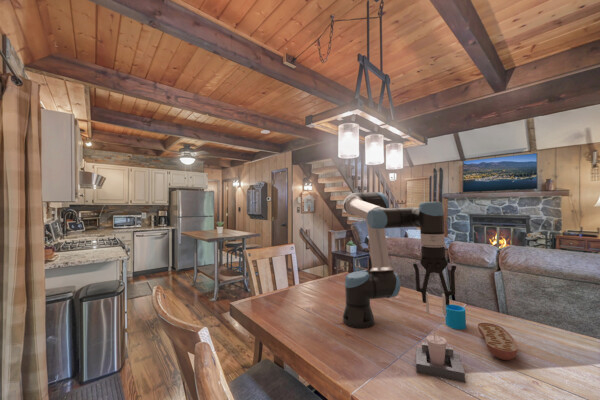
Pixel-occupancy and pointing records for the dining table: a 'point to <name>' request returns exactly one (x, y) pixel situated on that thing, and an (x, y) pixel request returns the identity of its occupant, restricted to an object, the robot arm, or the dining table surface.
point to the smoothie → (436, 348)
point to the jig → (450, 373)
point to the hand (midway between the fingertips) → (436, 312)
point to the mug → (455, 317)
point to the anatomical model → (498, 341)
